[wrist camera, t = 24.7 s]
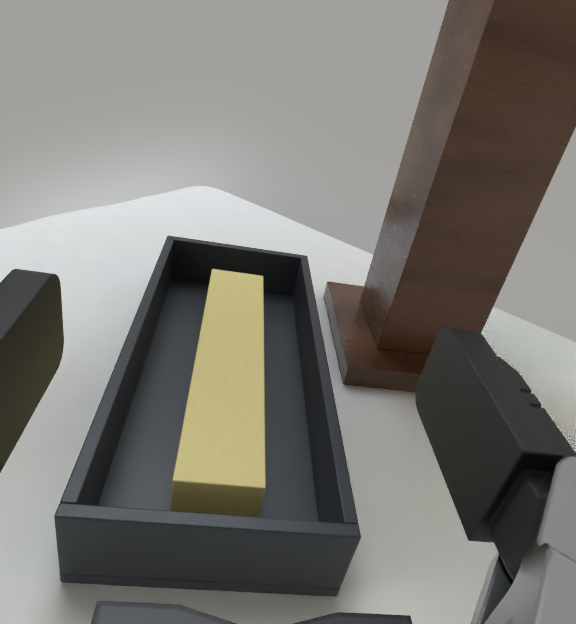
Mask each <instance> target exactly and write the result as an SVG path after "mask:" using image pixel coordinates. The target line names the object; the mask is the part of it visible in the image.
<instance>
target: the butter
mask: <svg viewBox="0 0 576 624" xmlns="http://www.w3.org/2000/svg"><path fill="white" fill-rule="evenodd" d="M265 488H266V472H265V380H264V289H263V276H260V275H253V274H246V273H239V272H232V271H224V270H217V269H212V271H211V276H210V282H209V287H208V292H207V298H206V303H205V308H204V314H203V319H202V324H201V330H200V335H199V340H198V346H197V351H196V357H195V362H194V367H193V373H192V378H191V383H190V389H189V394H188V399H187V405H186V410H185V415H184V421H183V426H182V431H181V437H180V442H179V448H178V453H177V458H176V464H175V469H174V474H173V480H172V490H171V501H170V511H179V512H193V513H206V514H220V515H234V516H248V517H259V514H260V510H261V505H262V501H263V497H264V493H265Z"/></svg>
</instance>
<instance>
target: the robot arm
mask: <svg viewBox="0 0 576 624" xmlns="http://www.w3.org/2000/svg"><path fill="white" fill-rule="evenodd" d="M63 345H64V336H63V319H62V303H61V287H60V280H59V278H58V276H57V275H56V274H50V273H43V272H35V271H28V270H20V269H14V270H12V271H11V272H10V273H9V274H8V275H7V276H6V277H5V278H4V279H3V281H2V282H1V283H0V472H1V470H2V468H3V467H4V465H5V463H6V461H7V459H8V458H9V456H10V454H11V452H12V450H13V449H14V447H15V445H16V443H17V441H18V440H19V438H20V436H21V434H22V432H23V431H24V429H25V427H26V425H27V423H28V422H29V420H30V418H31V416H32V414H33V413H34V411H35V409H36V407H37V405H38V404H39V402H40V400H41V398H42V396H43V395H44V393H45V391H46V389H47V387H48V386H49V384H50V382H51V380H52V378H53V377H54V375H55V373H56V371H57V369H58V367H59V364H60V361H61V358H62V353H63ZM416 406H417V410H418V413H419V415H420V418H421V420H422V423H423V425H424V428H425V431H426V433H427V436H428V438H429V441H430V443H431V446H432V448H433V451H434V453H435V456H436V459H437V461H438V464H439V466H440V469H441V471H442V474H443V476H444V479H445V482H446V484H447V487H448V489H449V492H450V494H451V497H452V499H453V502H454V505H455V507H456V510H457V512H458V515H459V517H460V520H461V522H462V525H463V527H464V530H465V533H466V535H467V538H468V540H469V541H481V542H494V543H495V545H496V548H497V550H498V552H497V554H496V555H495V557H494V558H493V560H492V562H491V564H490V567H489V570H488V573H487V576H486V579H485V582H484V584H483V587H482V590H481V593H480V596H479V599H478V602H477V605H476V608H475V611H474V614H473V617H472V620H471V623H470V624H576V453H575V452H574V450H573V449H572V447H571V446H570V444H569V443H568V442H567V440H566V439H565V437H564V436H563V435H562V433H561V432H560V430H559V429H558V428H557V426H556V425H555V423H554V422H553V420H552V419H551V418H550V416H549V415H548V413H547V412H546V411H545V409H544V408H541V404H540V402H539V401H538V399H537V398H536V396H535V395H534V394H531V389H530V388H529V387H528V385H527V384H526V382H525V381H524V380H523V378H522V377H521V375H520V374H519V373H518V372H517V371H516V370H515V369H514V368H512V367H511V366H510V365H509V364H507V363H506V362H505V361H504V360H503V359H501V358H500V357H497V356H496V354H495V353H494V351H493V350H492V348H491V347H490V345H489V344H488V343H487V341H486V340H485V338H484V337H483V335H482V334H481V333H480V332H477V331H469V330H462V329H454V328H443V329H442V330H441V331H440V332H439V333H438V335H437V337H436V339H435V342H434V344H433V347H432V349H431V352H430V354H429V356H428V359H427V361H426V364H425V366H424V369H423V371H422V373H421V376H420V378H419V381H418V384H417V388H416ZM91 624H236V623H233V622H230V621H227V620H224V619H221V618H218V617H215V616H212V615H209V614H206V613H203V612H200V611H197V610H194V609H190V608H187V607H184V606H181V605H173V604H152V603H131V602H110V601H97V603H96V607H95V611H94V614H93V618H92V622H91ZM294 624H412V621H411V617H410V616H405V615H384V614H363V613H342V612H338V613H334V614H330V615H326V616H322V617H318V618H314V619H310V620H306V621H302V622H298V623H294Z"/></svg>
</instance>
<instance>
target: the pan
mask: <svg viewBox="0 0 576 624" xmlns="http://www.w3.org/2000/svg"><path fill="white" fill-rule="evenodd" d="M212 269H217V270H224V271H232V272H239V273H246V274H253V275H260V276H263V289H264V380H265V472H266V488H265V493H264V497H263V501H262V505H261V510H260V514H259V517H248V516H234V515H220V514H206V513H193V512H179V511H170V501H171V490H172V480H173V474H174V469H175V464H176V458H177V453H178V448H179V442H180V437H181V431H182V426H183V421H184V415H185V410H186V405H187V399H188V394H189V389H190V383H191V378H192V373H193V367H194V362H195V357H196V351H197V346H198V340H199V335H200V330H201V324H202V319H203V314H204V308H205V303H206V298H207V292H208V287H209V282H210V276H211V271H212ZM55 527H56V537H57V548H58V558H59V568H60V580H61V582H70V583H89V584H109V585H128V586H148V587H167V588H187V589H206V590H225V591H245V592H264V593H284V594H303V595H323V596H337V594H338V592H339V589H340V586H341V584H342V582H343V579H344V577H345V574H346V572H347V570H348V567H349V565H350V562H351V560H352V558H353V555H354V553H355V550H356V548H357V546H358V543H359V541H360V538H361V535H360V530H359V525H358V520H357V514H356V509H355V504H354V499H353V494H352V488H351V483H350V478H349V473H348V468H347V462H346V457H345V452H344V447H343V441H342V436H341V431H340V426H339V421H338V415H337V410H336V405H335V400H334V394H333V389H332V384H331V379H330V374H329V368H328V363H327V358H326V353H325V347H324V342H323V337H322V332H321V327H320V321H319V316H318V311H317V306H316V300H315V295H314V290H313V285H312V280H311V274H310V269H309V264H308V259H307V256H304V255H297V254H290V253H283V252H276V251H270V250H263V249H256V248H249V247H242V246H235V245H229V244H222V243H215V242H208V241H201V240H194V239H187V238H181V237H174V236H167V239H166V241H165V244H164V246H163V249H162V251H161V254H160V256H159V259H158V261H157V264H156V266H155V269H154V271H153V273H152V276H151V278H150V281H149V283H148V286H147V288H146V291H145V293H144V296H143V298H142V301H141V303H140V306H139V308H138V311H137V313H136V315H135V318H134V320H133V323H132V325H131V328H130V330H129V333H128V335H127V338H126V340H125V343H124V345H123V348H122V350H121V353H120V355H119V358H118V360H117V362H116V365H115V367H114V370H113V372H112V375H111V377H110V380H109V382H108V385H107V387H106V390H105V392H104V395H103V397H102V400H101V402H100V405H99V407H98V409H97V412H96V414H95V417H94V419H93V422H92V424H91V427H90V429H89V432H88V434H87V437H86V439H85V442H84V444H83V447H82V449H81V452H80V454H79V456H78V459H77V461H76V464H75V466H74V469H73V471H72V474H71V476H70V479H69V481H68V484H67V486H66V489H65V491H64V494H63V496H62V499H61V501H60V504H59V506H58V509H57V511H56V513H55Z"/></svg>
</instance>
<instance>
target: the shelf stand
mask: <svg viewBox="0 0 576 624" xmlns="http://www.w3.org/2000/svg"><path fill="white" fill-rule="evenodd" d="M575 127H576V0H449V2H448V5H447V9H446V12H445V16H444V19H443V22H442V26H441V30H440V32H439V36H438V39H437V43H436V46H435V49H434V53H433V56H432V60H431V63H430V66H429V70H428V73H427V77H426V80H425V83H424V86H423V90H422V93H421V97H420V100H419V103H418V107H417V110H416V113H415V117H414V120H413V124H412V127H411V131H410V134H409V137H408V141H407V144H406V147H405V151H404V154H403V158H402V161H401V164H400V168H399V171H398V174H397V178H396V181H395V185H394V188H393V191H392V195H391V198H390V201H389V205H388V208H387V211H386V215H385V218H384V222H383V225H382V228H381V232H380V235H379V238H378V242H377V245H376V249H375V252H374V255H373V259H372V262H371V265H370V269H369V272H368V276H367V279H366V282H365V286H364V287H363V286H356V285H349V284H342V283H335V282H327V285H326V289H325V293H324V299H325V304H326V308H327V312H328V317H329V321H330V326H331V330H332V335H333V339H334V344H335V348H336V353H337V357H338V362H339V366H340V371H341V375H342V380H343V384H350V385H359V386H368V387H377V388H386V389H395V390H404V391H413V392H416V388H417V384H418V381H419V378H420V376H421V373H422V371H423V369H424V366H425V364H426V361H427V359H428V356H429V354H430V352H431V349H432V347H433V344H434V342H435V339H436V337H437V335H438V333H439V332H440V331H441V330H442V329H443V328H454V329H462V330H469V331H477V332H480V333H481V332H482V330H483V327H484V325H485V323H486V321H487V319H488V317H489V314H490V312H491V310H492V308H493V306H494V303H495V301H496V299H497V297H498V295H499V292H500V290H501V288H502V286H503V284H504V282H505V280H506V277H507V275H508V273H509V270H510V269H511V266H512V264H513V262H514V260H515V258H516V256H517V253H518V251H519V249H520V247H521V245H522V242H523V240H524V238H525V236H526V234H527V232H528V229H529V227H530V225H531V223H532V221H533V218H534V216H535V214H536V212H537V210H538V208H539V206H540V203H541V201H542V199H543V197H544V194H545V192H546V190H547V188H548V186H549V184H550V182H551V179H552V177H553V175H554V173H555V171H556V169H557V166H558V164H559V162H560V160H561V158H562V155H563V153H564V151H565V149H566V147H567V144H568V142H569V140H570V138H571V136H572V134H573V131H574V129H575Z"/></svg>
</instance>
